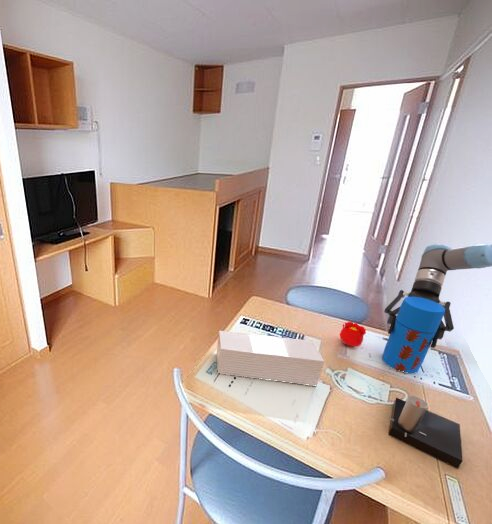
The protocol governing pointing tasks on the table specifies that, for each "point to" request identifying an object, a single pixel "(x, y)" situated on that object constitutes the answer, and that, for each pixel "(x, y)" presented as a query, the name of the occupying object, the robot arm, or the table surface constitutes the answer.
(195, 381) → the table surface
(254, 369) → the stack of papers
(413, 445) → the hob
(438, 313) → the thermos
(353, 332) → the flower
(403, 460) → the table surface
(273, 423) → the table surface
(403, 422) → the beige cylinder
